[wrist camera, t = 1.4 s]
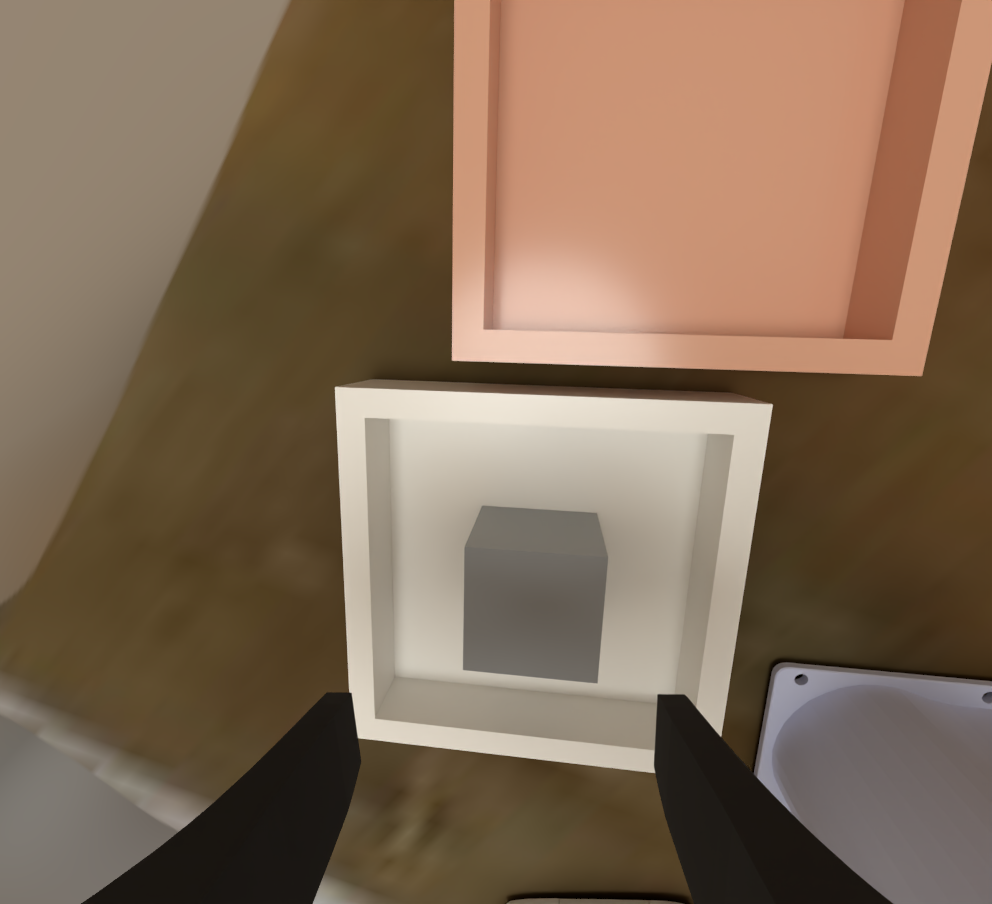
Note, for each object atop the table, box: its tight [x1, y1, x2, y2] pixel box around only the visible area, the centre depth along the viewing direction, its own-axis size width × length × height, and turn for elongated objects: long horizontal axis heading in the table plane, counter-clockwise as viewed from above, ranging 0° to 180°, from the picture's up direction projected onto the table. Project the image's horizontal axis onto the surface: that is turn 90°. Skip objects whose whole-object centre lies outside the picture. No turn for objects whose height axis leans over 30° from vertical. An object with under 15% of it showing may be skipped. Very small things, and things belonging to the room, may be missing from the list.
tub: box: [335, 379, 773, 773], centre depth 19 cm, size 14×14×4 cm
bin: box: [452, 0, 992, 376], centre depth 15 cm, size 14×14×4 cm
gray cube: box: [463, 506, 608, 684], centre depth 18 cm, size 4×4×4 cm
